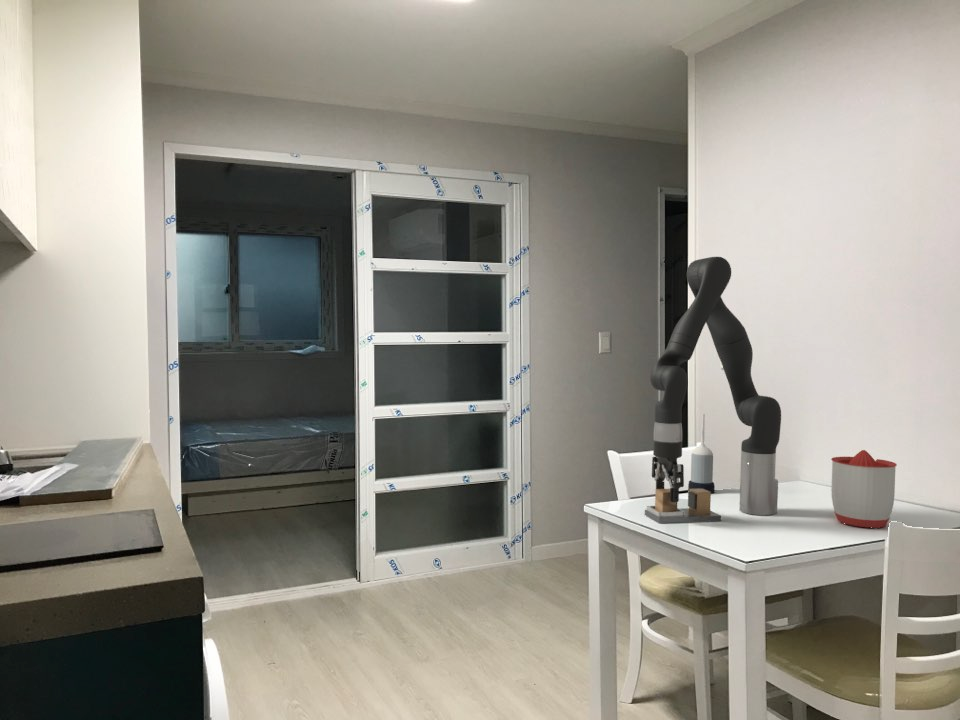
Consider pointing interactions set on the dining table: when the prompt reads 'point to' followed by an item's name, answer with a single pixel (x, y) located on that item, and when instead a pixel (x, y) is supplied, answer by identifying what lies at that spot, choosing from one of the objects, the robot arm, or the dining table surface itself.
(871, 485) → the citrus juicer
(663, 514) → the rail dock
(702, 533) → the dining table surface
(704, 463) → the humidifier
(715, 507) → the dining table surface
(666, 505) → the tan wooden block
